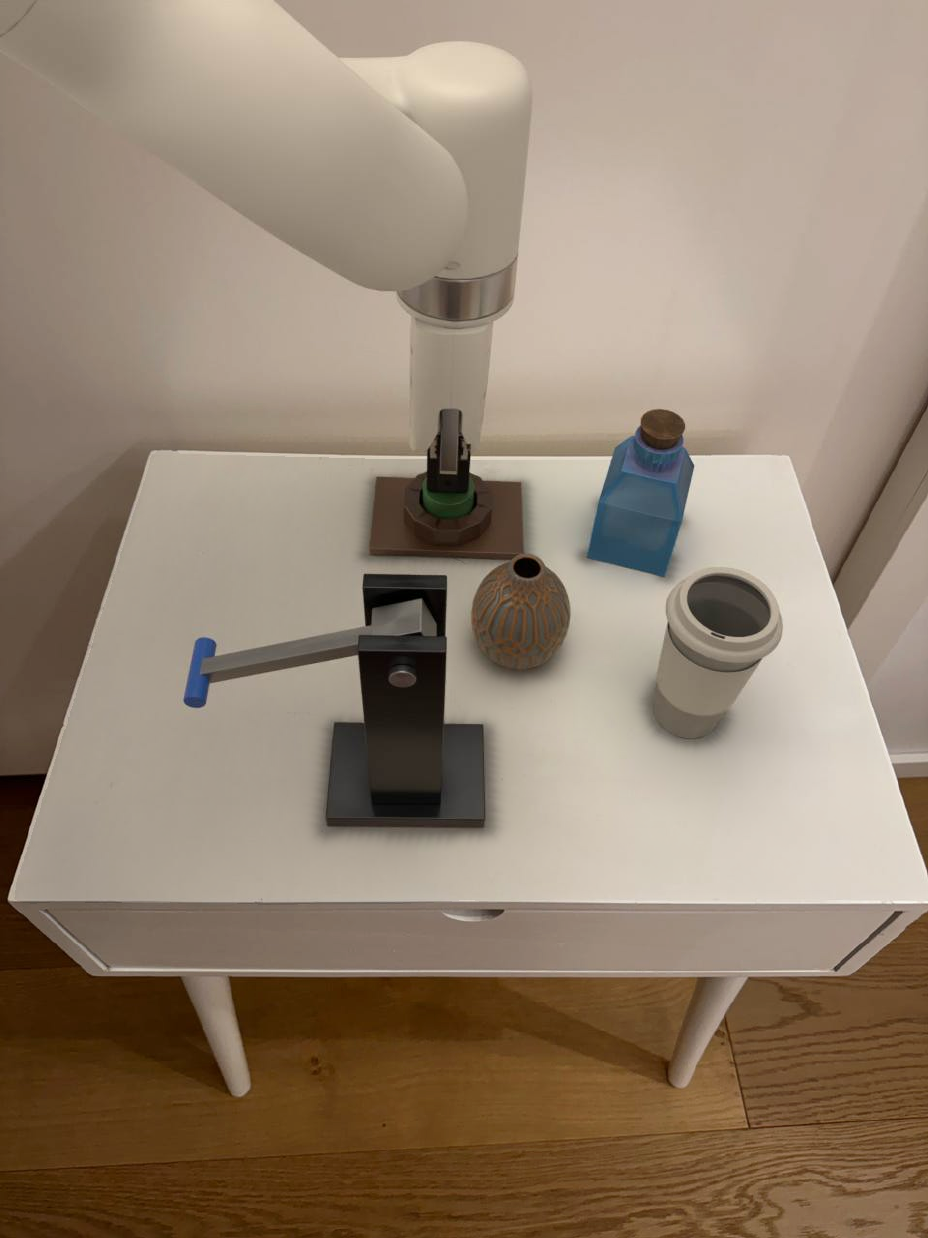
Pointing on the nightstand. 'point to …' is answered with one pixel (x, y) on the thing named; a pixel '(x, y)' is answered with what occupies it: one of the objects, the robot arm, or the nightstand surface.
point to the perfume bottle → (644, 496)
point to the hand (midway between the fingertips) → (447, 485)
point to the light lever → (300, 649)
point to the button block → (447, 521)
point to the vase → (521, 613)
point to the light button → (448, 502)
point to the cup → (712, 647)
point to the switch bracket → (405, 727)
